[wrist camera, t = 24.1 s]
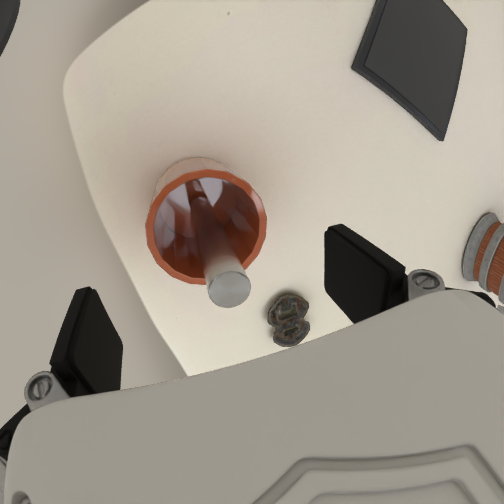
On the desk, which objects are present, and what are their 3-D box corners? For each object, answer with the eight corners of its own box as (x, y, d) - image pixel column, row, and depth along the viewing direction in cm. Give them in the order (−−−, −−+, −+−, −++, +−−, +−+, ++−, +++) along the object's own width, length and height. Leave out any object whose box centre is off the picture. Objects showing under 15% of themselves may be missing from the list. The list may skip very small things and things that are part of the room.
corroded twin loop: (272, 347, 34) (275, 353, 33) (260, 298, 30) (263, 304, 29) (309, 333, 35) (312, 338, 34) (303, 283, 31) (307, 288, 30)
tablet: (351, 68, 22) (356, 67, 21) (391, -42, 16) (395, -44, 15) (438, 140, 28) (443, 141, 27) (463, 29, 22) (468, 29, 21)
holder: (144, 229, 24) (134, 270, 17) (170, 145, 22) (167, 152, 15) (222, 249, 27) (241, 295, 20) (252, 173, 25) (284, 192, 18)
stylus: (186, 210, 24) (203, 304, 12) (192, 191, 23) (216, 267, 11) (205, 216, 25) (242, 311, 12) (212, 197, 24) (257, 276, 12)
